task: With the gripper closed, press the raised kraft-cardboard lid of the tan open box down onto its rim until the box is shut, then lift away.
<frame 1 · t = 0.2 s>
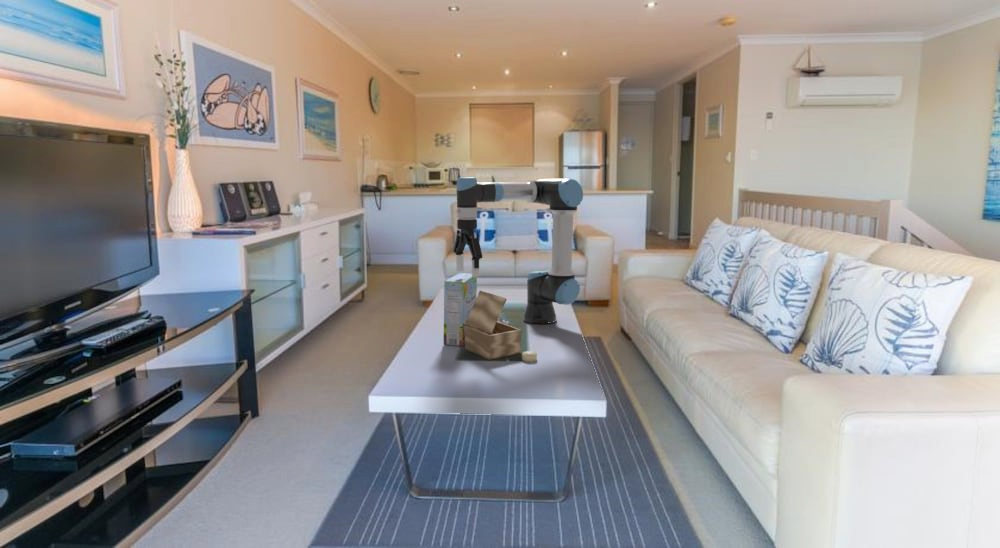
hand: (467, 274, 219), 28 cm above the table, fingers open, 13 cm apart
snack box: (461, 339, 232), on the table
lid: (485, 312, 211), point 16 cm above the table, hinge at 60.0°
tape roll: (529, 359, 206), on the table
tan open box: (492, 351, 216), on the table
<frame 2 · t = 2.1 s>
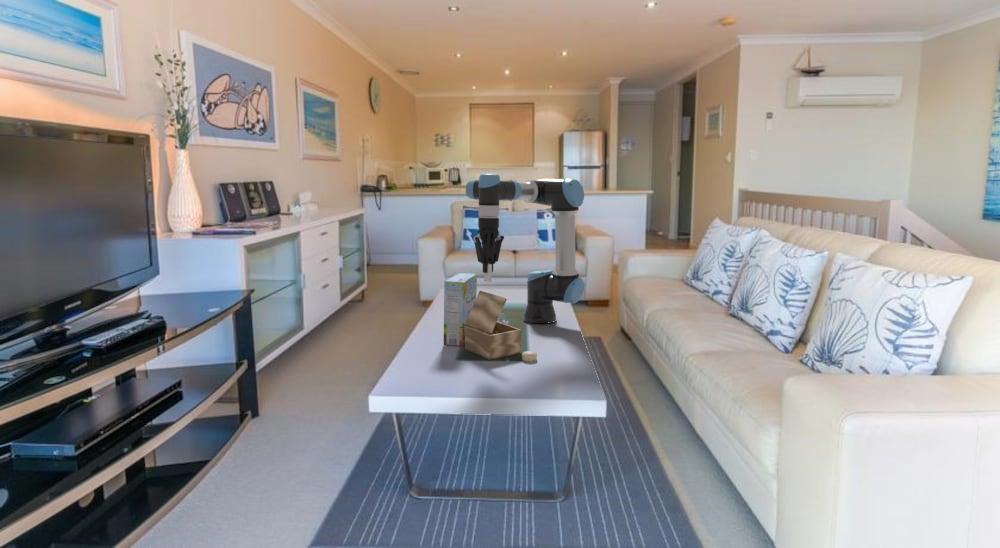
hand: (487, 281, 210), 27 cm above the table, fingers closed
nothing on the table moved.
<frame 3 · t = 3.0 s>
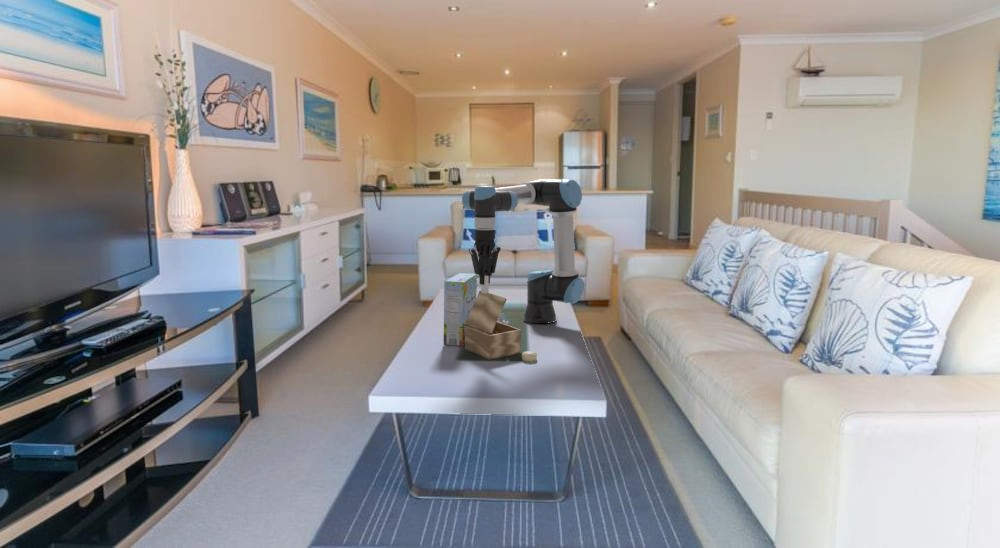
hand: (484, 292, 210), 23 cm above the table, fingers closed
nothing on the table moved.
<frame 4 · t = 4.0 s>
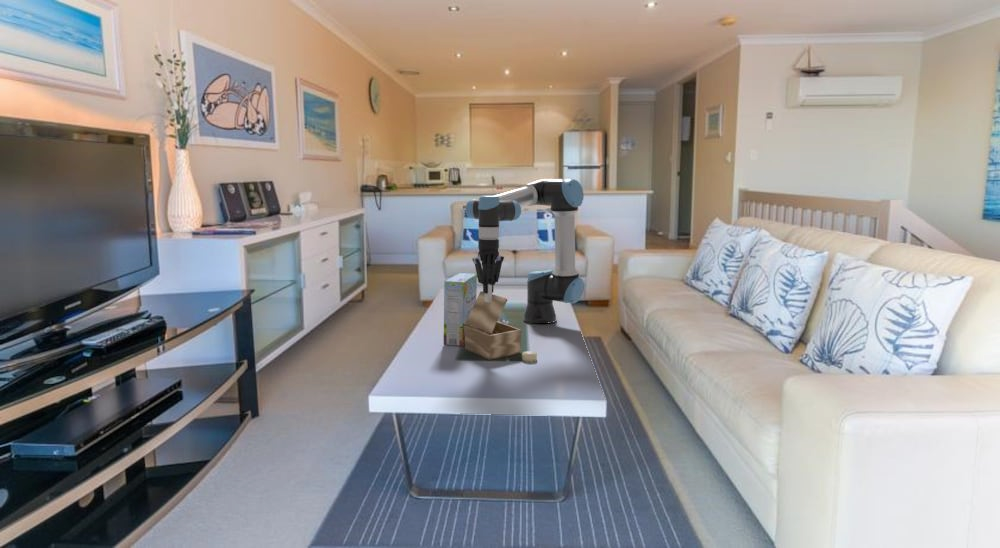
hand: (488, 301, 211), 20 cm above the table, fingers closed
lid: (485, 312, 211), point 15 cm above the table, hinge at 58.1°
everything else where it was.
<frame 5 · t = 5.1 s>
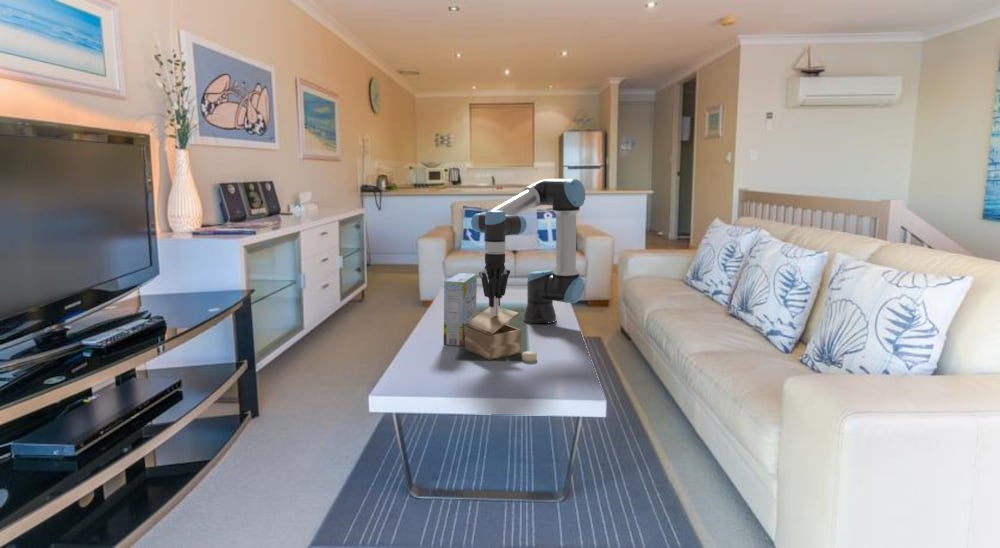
hand: (494, 314, 214), 14 cm above the table, fingers closed
lid: (491, 319, 213), point 12 cm above the table, hinge at 23.8°, touching gripper
everything else where it was.
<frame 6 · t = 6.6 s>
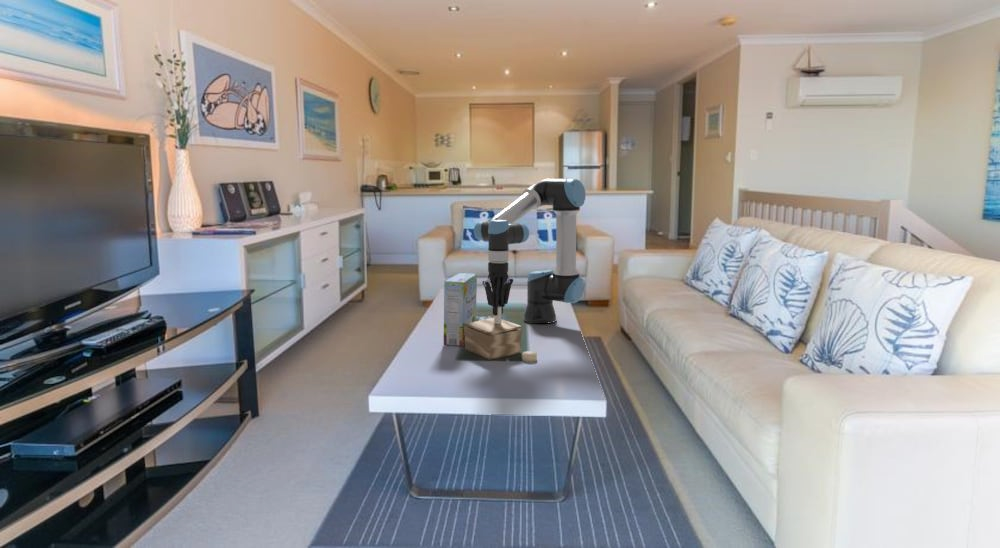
hand: (497, 323, 215), 11 cm above the table, fingers closed
lid: (492, 325, 214), point 10 cm above the table, hinge at 2.2°, touching gripper
everything else where it was.
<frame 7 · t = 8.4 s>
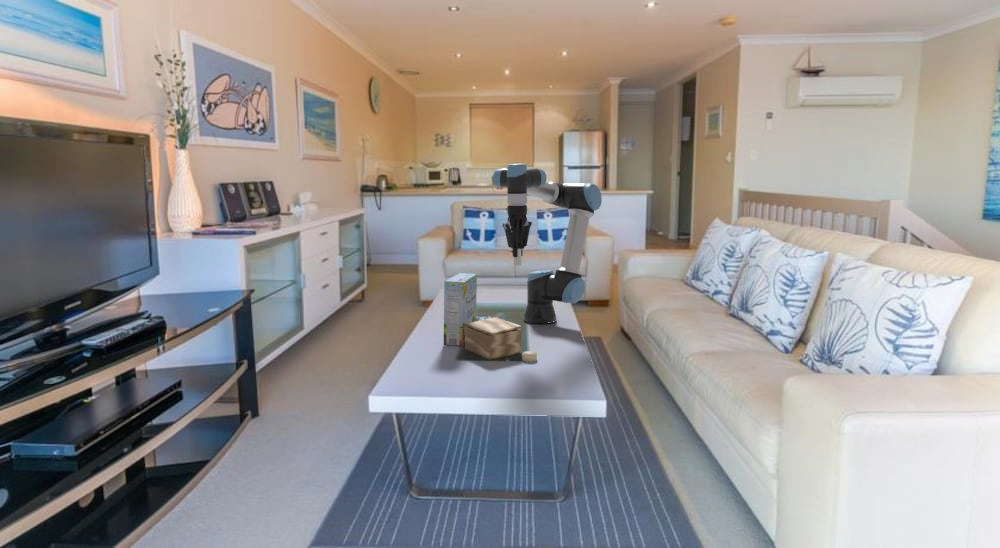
hand: (517, 265, 223), 31 cm above the table, fingers closed
lid: (492, 325, 214), point 10 cm above the table, hinge at 2.2°
everything else where it was.
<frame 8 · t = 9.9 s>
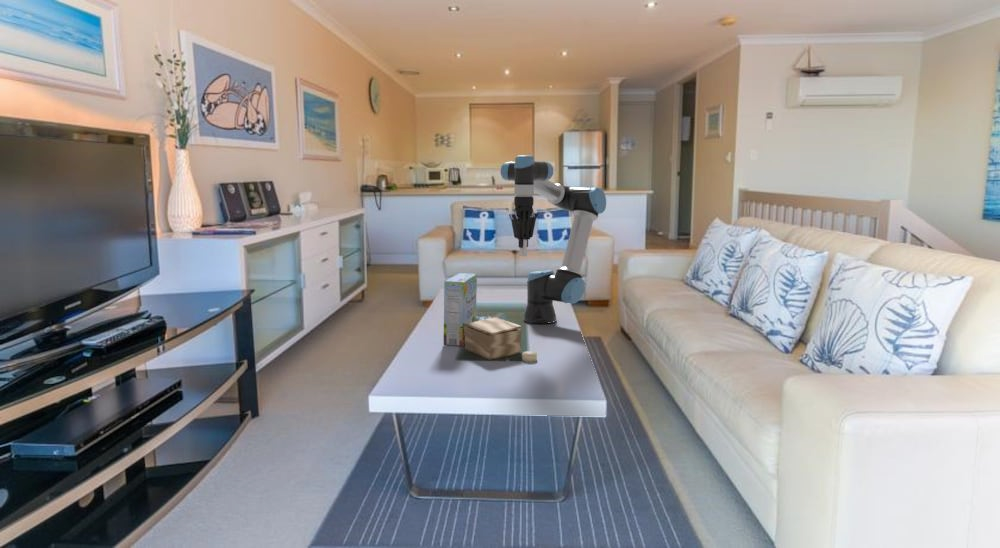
hand: (523, 255, 226), 34 cm above the table, fingers closed
nothing on the table moved.
at the end: lid at +2° (first picture: +60°) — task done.
